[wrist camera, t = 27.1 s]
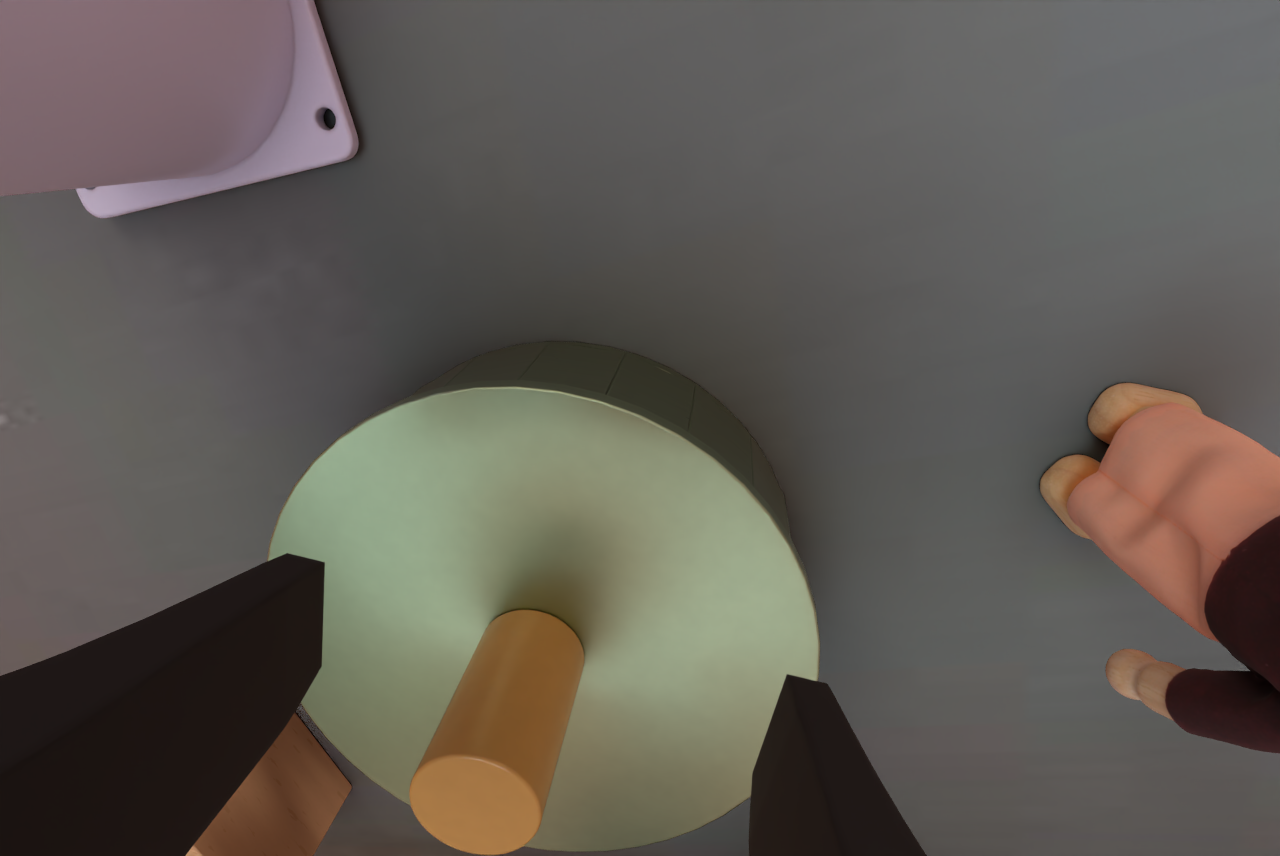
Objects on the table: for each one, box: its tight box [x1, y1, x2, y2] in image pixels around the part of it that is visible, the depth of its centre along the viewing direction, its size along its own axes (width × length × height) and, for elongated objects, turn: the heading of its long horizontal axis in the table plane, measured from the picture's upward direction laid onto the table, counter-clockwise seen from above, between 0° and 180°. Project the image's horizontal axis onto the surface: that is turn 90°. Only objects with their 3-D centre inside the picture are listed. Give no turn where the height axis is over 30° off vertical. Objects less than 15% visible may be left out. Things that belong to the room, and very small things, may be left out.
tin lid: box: [267, 380, 820, 855], centre depth 17 cm, size 14×14×6 cm
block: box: [185, 712, 352, 856], centre depth 25 cm, size 4×4×6 cm
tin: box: [410, 341, 791, 538], centre depth 21 cm, size 13×13×4 cm
